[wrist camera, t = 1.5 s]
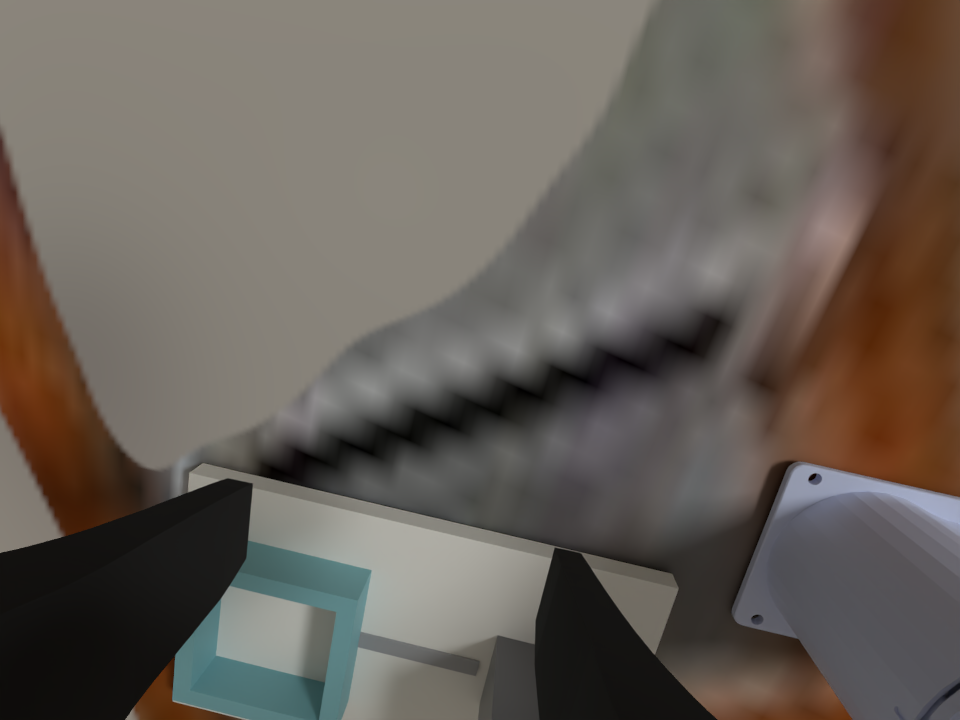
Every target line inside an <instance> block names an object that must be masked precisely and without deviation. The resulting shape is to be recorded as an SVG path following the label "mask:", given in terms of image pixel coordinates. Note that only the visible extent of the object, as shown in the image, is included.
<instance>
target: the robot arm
mask: <svg viewBox="0 0 960 720" xmlns="http://www.w3.org/2000/svg"><path fill="white" fill-rule="evenodd" d="M814 473H817V475H816V477H815V479H813V480H811V481H808V478H809V476H810V475H812V474H814ZM252 490H253V483H248V482H244V481H239V480H234V479H229V478H227V479H224V480H220V481H217V482H214V483H212V484H209V485H206V486H204V487H201V488H198V489H196V490H193V491H191V492H188V493H186V494H183V495H181V496H178V497H176V498H173V499H170V500H168V501H165V502H163V503H160V504H157V505H155V506H152V507H150V508H147V509H145V510H142V511H139V512H136V513H134V514H131V515H128V516H125V517H122V518H119V519H116V520H114V521H111V522H108V523H105V524H102V525H99V526H96V527H94V528H91V529H87V530H84V531H81V532H78V533H75V534H71V535H68V536H65V537H61V538H58V539H54V540H50V541H47V542H44V543H40V544H36V545H32V546H29V547H24V548H20V549H16V550H12V551H7V552H2V553H0V720H125V719H126V718H127V716H128V715H129V713H130V712H131V710H132V709H133V707H134V706H135V705H136V703H137V702H138V701H139V699H140V698H141V697H142V696H143V694H144V693H145V692H146V690H147V689H148V688H149V686H150V685H151V684H152V683H153V681H154V680H155V679H156V678H157V676H158V675H159V674H160V673H161V672H162V670H163V669H164V668H165V667H166V666H167V664H168V663H169V662H170V661H171V659H172V658H173V657H174V656H175V655H176V653H177V652H178V651H179V650H180V648H181V647H182V646H183V645H184V644H185V642H186V641H187V640H188V639H189V638H190V636H191V635H192V634H193V633H194V631H195V630H196V629H197V628H198V627H199V625H200V624H201V623H202V622H203V620H204V619H205V618H206V617H207V615H208V614H209V613H210V612H211V611H212V609H213V608H214V607H215V606H216V604H217V603H218V602H219V600H220V599H221V598H222V597H223V595H224V594H225V592H226V590H227V589H228V587H229V586H230V584H231V583H232V581H233V580H234V578H235V576H236V575H237V573H238V571H239V570H240V568H241V566H242V565H243V563H244V561H245V560H246V558H247V546H248V535H249V524H250V512H251V501H252ZM731 613H732V616H733V618H734V620H735V621H736V622H737V623H738V624H740V625H742V626H746V627H751V628H755V629H759V630H763V631H767V632H772V633H776V634H780V635H784V636H788V637H793V638H797V639H799V641H800V642H801V644H802V645H803V646H804V648H805V649H806V651H807V652H808V654H809V655H810V657H811V658H812V660H813V661H814V663H815V664H816V666H817V667H818V669H819V670H820V672H821V673H822V675H823V676H824V678H825V679H826V681H827V682H828V684H829V685H830V687H831V688H832V690H833V691H834V692H835V694H836V695H837V697H838V698H839V700H840V701H841V703H842V704H843V706H844V707H845V709H846V710H847V712H848V713H849V715H850V716H851V718H852V719H853V720H960V497H956V496H951V495H947V494H943V493H938V492H934V491H929V490H925V489H921V488H916V487H912V486H907V485H903V484H899V483H894V482H890V481H885V480H881V479H876V478H872V477H868V476H863V475H859V474H854V473H850V472H846V471H841V470H837V469H832V468H828V467H824V466H819V465H815V464H810V463H806V462H795V463H793V464H791V465H790V466H789V467H788V469H787V470H786V473H785V475H784V478H783V480H782V483H781V485H780V488H779V491H778V493H777V496H776V498H775V501H774V503H773V506H772V508H771V511H770V513H769V516H768V518H767V521H766V524H765V526H764V529H763V531H762V534H761V536H760V539H759V541H758V544H757V546H756V549H755V551H754V554H753V556H752V559H751V562H750V564H749V567H748V569H747V572H746V574H745V577H744V579H743V582H742V584H741V587H740V589H739V592H738V595H737V597H736V600H735V602H734V605H733V607H732V611H731ZM754 615H759V616H758V617H756V618H752V617H753V616H754ZM534 665H535V677H536V688H537V700H538V710H539V720H717V719H716V718H715V717H714V716H713V715H712V714H711V713H710V712H708V711H707V710H706V709H705V708H704V707H703V706H702V705H701V704H700V703H699V702H698V701H697V700H696V699H695V698H694V697H693V696H692V695H691V694H690V693H689V692H688V691H687V690H686V689H685V688H684V687H683V686H682V685H681V684H680V682H679V681H678V680H677V679H676V678H675V677H674V676H673V675H672V674H671V673H670V672H669V671H668V670H667V669H666V668H665V666H664V665H663V664H662V663H661V662H660V661H659V660H658V658H657V657H656V656H655V655H654V654H653V653H652V651H651V650H650V649H649V648H648V646H647V645H646V644H645V643H644V641H643V640H642V639H641V638H640V636H639V635H638V634H637V633H636V631H635V630H634V629H633V628H632V626H631V625H630V624H629V622H628V621H627V620H626V618H625V617H624V616H623V614H622V613H621V611H620V610H619V609H618V607H617V606H616V604H615V603H614V602H613V600H612V599H611V597H610V596H609V594H608V593H607V592H606V590H605V589H604V587H603V586H602V584H601V583H600V581H599V580H598V578H597V577H596V575H595V574H594V572H593V570H592V569H591V567H590V566H589V564H588V563H587V561H586V560H585V558H584V557H583V555H582V554H581V553H579V552H575V551H570V550H565V549H560V548H556V547H555V548H554V552H553V556H552V560H551V564H550V567H549V571H548V575H547V579H546V582H545V586H544V590H543V594H542V598H541V601H540V605H539V609H538V613H537V617H536V621H535V662H534Z"/></svg>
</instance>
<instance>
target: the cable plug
mask: <svg viewBox="0 0 960 720" xmlns="http://www.w3.org/2000/svg"><path fill="white" fill-rule="evenodd" d="M534 662H535V644H531V643H527V642H523V641H519V640H515V639H511V638H507V637H503V636H498V635H497V639H496V643H495V647H494V650H493V654H492V658H491V662H490V666H489V670H488V673H487V677H486V681H485V685H484V689H483V693H482V696H481V700H480V704H479V714H478V720H539V710H538V700H537V688H536V677H535V665H534Z"/></svg>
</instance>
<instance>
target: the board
mask: <svg viewBox="0 0 960 720" xmlns="http://www.w3.org/2000/svg"><path fill="white" fill-rule="evenodd" d="M227 478H229V479H234V480H239V481H244V482H248V483H253V490H252V501H251V512H250V524H249V535H248V546H247V558H246V560H245V561H244V563H243V565H242V566H241V568H240V570H239V571H238V573H237V575H236V576H235V578H234V580H233V581H232V583H231V584H230V586H229V587H228V589H227V590H226V592H225V594H224V595H223V597H222V598H221V599H220V600H219V602H218V603H217V604H216V606H215V607H214V608H213V609H212V611H211V612H210V613H209V614H208V615H207V617H206V618H205V619H204V620H203V622H202V623H201V624H200V625H199V627H198V628H197V629H196V630H195V631H194V633H193V634H192V635H191V636H190V638H189V639H188V640H187V641H186V642H185V644H184V645H183V646H182V647H181V648H180V650H179V651H178V652H177V653H176V655H175V668H174V682H173V696H172V700H173V702H177V703H181V704H185V705H189V706H193V707H197V708H200V709H204V710H208V711H212V712H216V713H220V714H224V715H228V716H232V717H236V718H240V719H244V720H478V714H479V704H480V700H481V696H482V693H483V689H484V685H485V681H486V677H487V673H488V670H489V666H490V662H491V658H492V654H493V650H494V647H495V643H496V639H497V635H498V636H503V637H507V638H511V639H515V640H519V641H523V642H527V643H531V644H535V621H536V617H537V613H538V609H539V605H540V601H541V598H542V594H543V590H544V586H545V582H546V579H547V575H548V571H549V567H550V564H551V560H552V556H553V552H554V548H555V547H556V548H560V549H565V548H561V547H557V546H552V545H548V544H544V543H540V542H535V541H531V540H527V539H523V538H518V537H514V536H510V535H506V534H502V533H497V532H493V531H489V530H485V529H480V528H476V527H472V526H468V525H463V524H459V523H455V522H451V521H446V520H442V519H438V518H434V517H429V516H425V515H421V514H417V513H413V512H408V511H404V510H400V509H396V508H391V507H387V506H383V505H379V504H374V503H370V502H366V501H362V500H357V499H353V498H349V497H345V496H341V495H336V494H332V493H328V492H324V491H319V490H315V489H311V488H307V487H302V486H298V485H294V484H290V483H285V482H281V481H277V480H273V479H269V478H264V477H260V476H256V475H252V474H247V473H243V472H239V471H235V470H230V469H226V468H222V467H218V466H213V465H209V464H205V463H202V464H201V465H199V466H198V467H197V468H195V469H194V470H192V471H191V472H190V473H189V483H188V492H191V491H193V490H196V489H198V488H201V487H204V486H206V485H209V484H212V483H214V482H217V481H220V480H224V479H227ZM565 550H569V549H565ZM570 551H574V550H570ZM575 552H578V551H575ZM579 553H581V554H582V555H583V557H584V558H585V560H586V561H587V563H588V564H589V566H590V567H591V569H592V570H593V572H594V574H595V575H596V577H597V578H598V580H599V581H600V583H601V584H602V586H603V587H604V589H605V590H606V592H607V593H608V594H609V596H610V597H611V599H612V600H613V602H614V603H615V604H616V606H617V607H618V609H619V610H620V611H621V613H622V614H623V616H624V617H625V618H626V620H627V621H628V622H629V624H630V625H631V626H632V628H633V629H634V630H635V631H636V633H637V634H638V635H639V636H640V638H641V639H642V640H643V641H644V643H645V644H646V645H647V646H648V648H649V649H650V650H651V651H652V653H653V654H654V655H655V654H656V651H657V648H658V645H659V642H660V640H661V637H662V634H663V631H664V628H665V626H666V623H667V620H668V617H669V615H670V612H671V609H672V606H673V603H674V601H675V598H676V595H677V592H678V589H679V588H678V586H677V583H676V581H675V579H674V576H673V574H671V573H667V572H662V571H658V570H654V569H650V568H646V567H641V566H637V565H633V564H629V563H624V562H620V561H616V560H612V559H607V558H603V557H599V556H595V555H590V554H586V553H582V552H579Z"/></svg>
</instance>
